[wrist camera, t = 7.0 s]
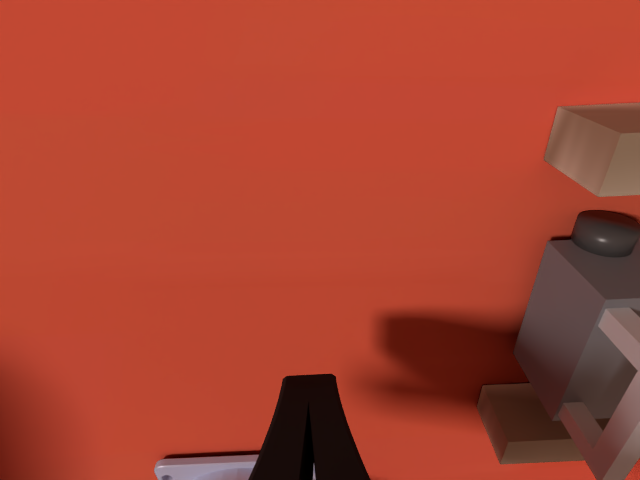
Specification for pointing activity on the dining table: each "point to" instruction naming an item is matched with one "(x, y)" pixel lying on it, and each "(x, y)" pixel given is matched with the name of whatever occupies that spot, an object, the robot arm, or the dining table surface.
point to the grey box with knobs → (589, 339)
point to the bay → (602, 180)
